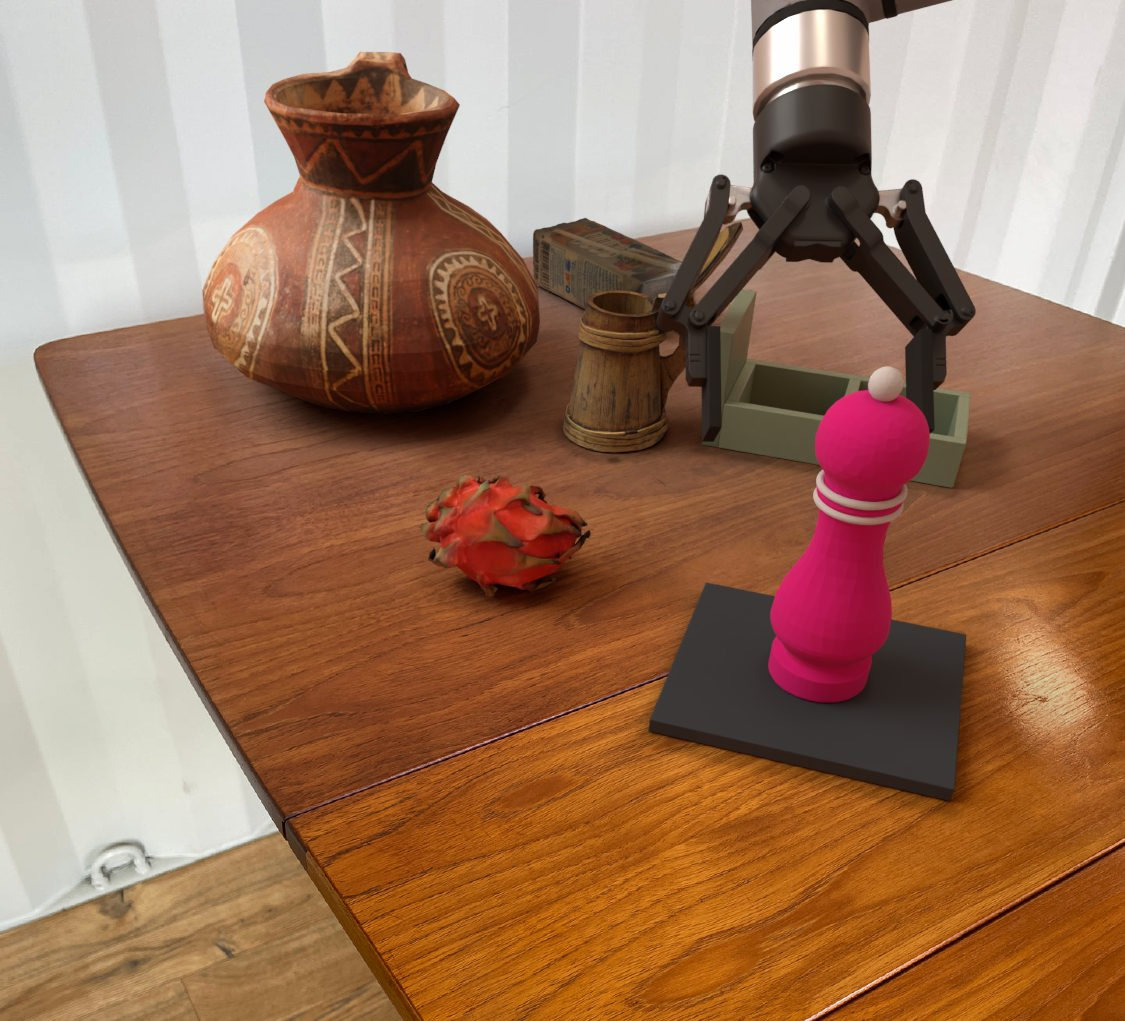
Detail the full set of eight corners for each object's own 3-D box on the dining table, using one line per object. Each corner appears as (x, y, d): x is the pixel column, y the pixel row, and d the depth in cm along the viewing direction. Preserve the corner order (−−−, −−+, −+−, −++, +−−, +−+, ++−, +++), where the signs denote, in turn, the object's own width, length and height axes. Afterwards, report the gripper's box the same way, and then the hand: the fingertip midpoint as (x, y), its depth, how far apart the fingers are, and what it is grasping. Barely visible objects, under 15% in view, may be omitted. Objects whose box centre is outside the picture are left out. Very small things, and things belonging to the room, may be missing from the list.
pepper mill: (865, 721, 66) (954, 408, 52) (748, 692, 68) (807, 382, 54) (881, 654, 71) (967, 354, 58) (773, 629, 73) (831, 332, 59)
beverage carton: (637, 341, 112) (642, 275, 107) (528, 286, 123) (528, 224, 118) (694, 325, 115) (701, 260, 111) (583, 273, 126) (586, 212, 122)
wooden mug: (713, 463, 92) (743, 240, 80) (556, 448, 93) (563, 226, 81) (716, 418, 99) (745, 205, 87) (569, 404, 100) (578, 193, 88)
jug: (586, 423, 97) (601, 106, 80) (247, 474, 88) (185, 130, 72) (480, 306, 118) (475, 34, 101) (197, 338, 109) (139, 45, 92)
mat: (962, 645, 74) (966, 633, 73) (950, 801, 62) (954, 789, 62) (704, 593, 77) (705, 581, 77) (648, 731, 66) (649, 719, 65)
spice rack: (958, 435, 98) (991, 324, 91) (952, 488, 90) (988, 371, 84) (725, 397, 102) (740, 288, 96) (701, 445, 95) (715, 330, 88)
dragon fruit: (412, 589, 79) (572, 610, 81) (412, 584, 71) (590, 607, 73) (425, 472, 79) (587, 495, 80) (426, 453, 70) (606, 479, 72)
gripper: (973, 155, 75) (981, 456, 74) (614, 146, 74) (617, 452, 73) (1025, 82, 67) (1034, 417, 66) (626, 71, 66) (629, 412, 65)
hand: (816, 436), depth 69 cm, fingers open, 13 cm apart
